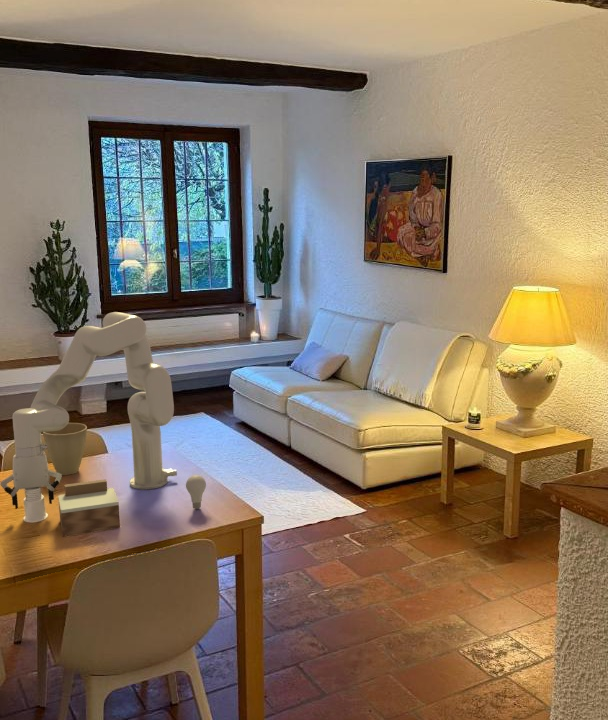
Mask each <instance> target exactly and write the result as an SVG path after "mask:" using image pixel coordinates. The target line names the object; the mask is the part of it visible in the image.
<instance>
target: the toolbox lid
mask: <svg viewBox="0 0 608 720" xmlns="http://www.w3.org/2000/svg"><path fill="white" fill-rule="evenodd" d="M57 496H58V497H57V498H58V505H59V504H60V510H61V513H68V512H75V511H81V510H88V509H95V508H102V507H109V506H116V505H119V506H120V503H119V499H118V496H117V494H116V492H115V489H114V487H109V488H108V481H107V479H105V478H104V479H97V480H91V481H89V480H88V481H81V482H76V483H74V482H73V483H67V484H64V494H58V495H57Z"/></svg>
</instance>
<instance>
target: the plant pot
mask: <svg viewBox="0 0 608 720" xmlns="http://www.w3.org/2000/svg"><path fill="white" fill-rule="evenodd" d="M87 429H88V427H87V424H84V423H79V422H68V424H67V425H66V426H65V427H64V428H63V429H61V430H58V431H48V432H42V435H43V438H44V445H47V449H46V450H47V453H48V455H49V459H50V461H51V464H52V466H53V468H54V470H55V472H57V473H60V474H62V476H67V475H69V476H70V475H73V474H76V473H78V472H79V470H80V467H81V463H82V460H83V457H84V452H85V446H86V440H87V433H88V432H87V431H88V430H87Z"/></svg>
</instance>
